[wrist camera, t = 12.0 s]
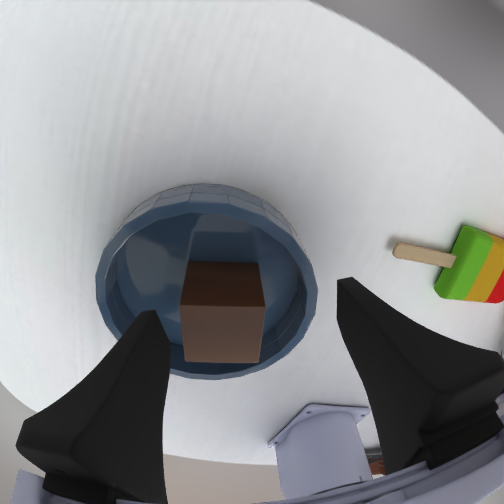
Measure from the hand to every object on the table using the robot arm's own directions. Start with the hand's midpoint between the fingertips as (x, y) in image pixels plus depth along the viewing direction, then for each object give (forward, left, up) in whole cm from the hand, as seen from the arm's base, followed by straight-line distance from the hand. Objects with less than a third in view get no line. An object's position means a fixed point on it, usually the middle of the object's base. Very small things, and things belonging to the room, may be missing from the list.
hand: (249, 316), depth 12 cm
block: (-3, 0, -6) cm, 7 cm away
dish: (-3, +1, -6) cm, 7 cm away
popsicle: (+5, -16, -7) cm, 18 cm away
